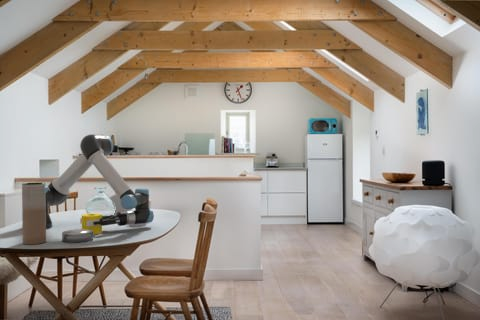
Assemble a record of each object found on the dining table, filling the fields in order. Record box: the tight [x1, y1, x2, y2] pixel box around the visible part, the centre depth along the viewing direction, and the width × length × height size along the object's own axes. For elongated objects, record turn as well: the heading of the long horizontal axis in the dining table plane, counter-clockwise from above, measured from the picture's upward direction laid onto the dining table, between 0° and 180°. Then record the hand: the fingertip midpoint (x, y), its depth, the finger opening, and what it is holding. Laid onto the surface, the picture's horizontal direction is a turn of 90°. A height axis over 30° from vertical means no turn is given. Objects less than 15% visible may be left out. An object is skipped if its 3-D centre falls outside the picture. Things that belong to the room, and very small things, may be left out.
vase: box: [21, 182, 47, 246], centre depth 212 cm, size 10×10×28 cm
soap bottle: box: [109, 192, 133, 216], centre depth 288 cm, size 16×5×20 cm, turn 89°
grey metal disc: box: [61, 228, 94, 244], centre depth 218 cm, size 14×14×4 cm
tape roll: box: [81, 213, 103, 236], centre depth 236 cm, size 10×10×9 cm
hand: (83, 222), depth 233 cm, fingers closed on tape roll, 10 cm apart
